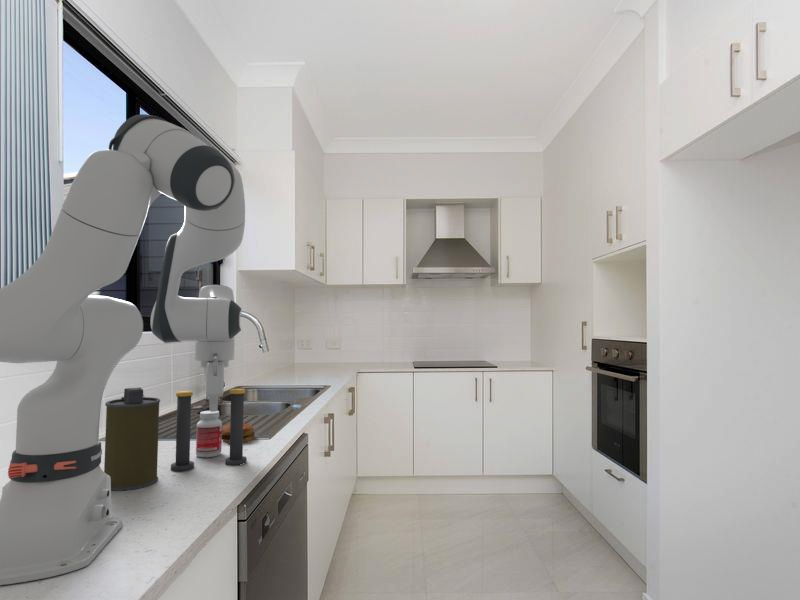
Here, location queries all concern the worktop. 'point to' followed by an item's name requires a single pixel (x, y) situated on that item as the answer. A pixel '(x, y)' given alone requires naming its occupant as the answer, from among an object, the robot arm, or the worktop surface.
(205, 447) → the pill bottle
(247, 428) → the burger
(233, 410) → the post right
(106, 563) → the worktop surface
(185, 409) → the post left
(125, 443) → the canister
